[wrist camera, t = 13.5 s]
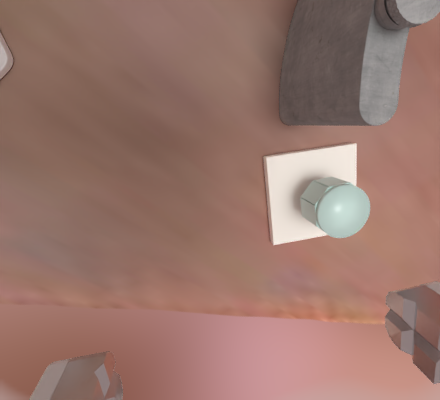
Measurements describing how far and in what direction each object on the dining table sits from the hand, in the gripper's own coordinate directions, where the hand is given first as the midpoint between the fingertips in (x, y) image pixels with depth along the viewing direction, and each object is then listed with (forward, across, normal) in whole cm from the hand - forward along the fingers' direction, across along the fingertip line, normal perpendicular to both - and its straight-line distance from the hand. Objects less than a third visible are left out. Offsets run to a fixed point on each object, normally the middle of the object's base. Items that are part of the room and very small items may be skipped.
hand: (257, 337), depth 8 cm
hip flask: (+31, -15, -12) cm, 37 cm away
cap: (+27, -16, +6) cm, 32 cm away
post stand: (+31, -16, +6) cm, 35 cm away
